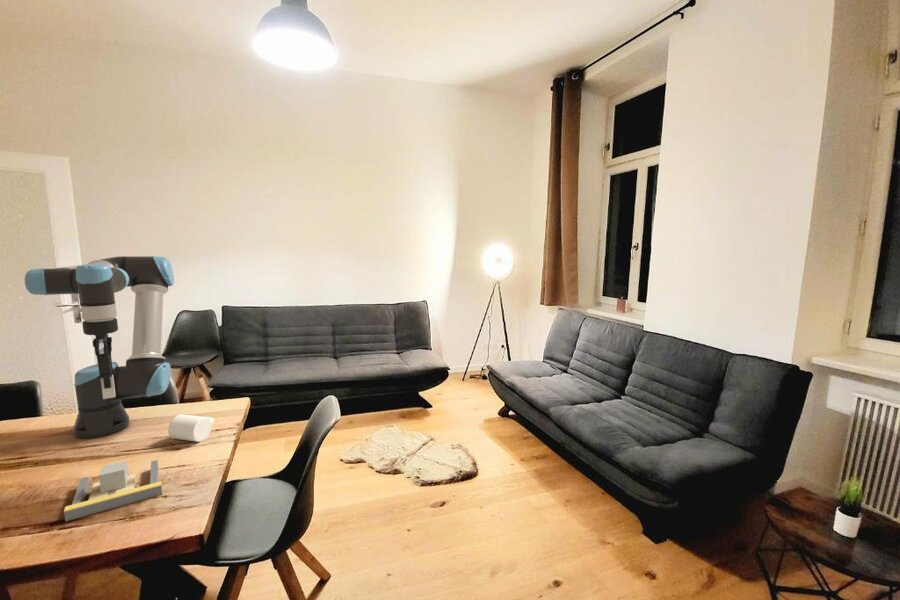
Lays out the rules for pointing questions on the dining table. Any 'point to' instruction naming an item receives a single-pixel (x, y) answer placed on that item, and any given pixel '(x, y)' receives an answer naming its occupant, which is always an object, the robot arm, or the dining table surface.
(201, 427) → the mug
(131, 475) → the pallet
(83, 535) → the dining table surface
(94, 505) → the dock
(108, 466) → the light grey cube
